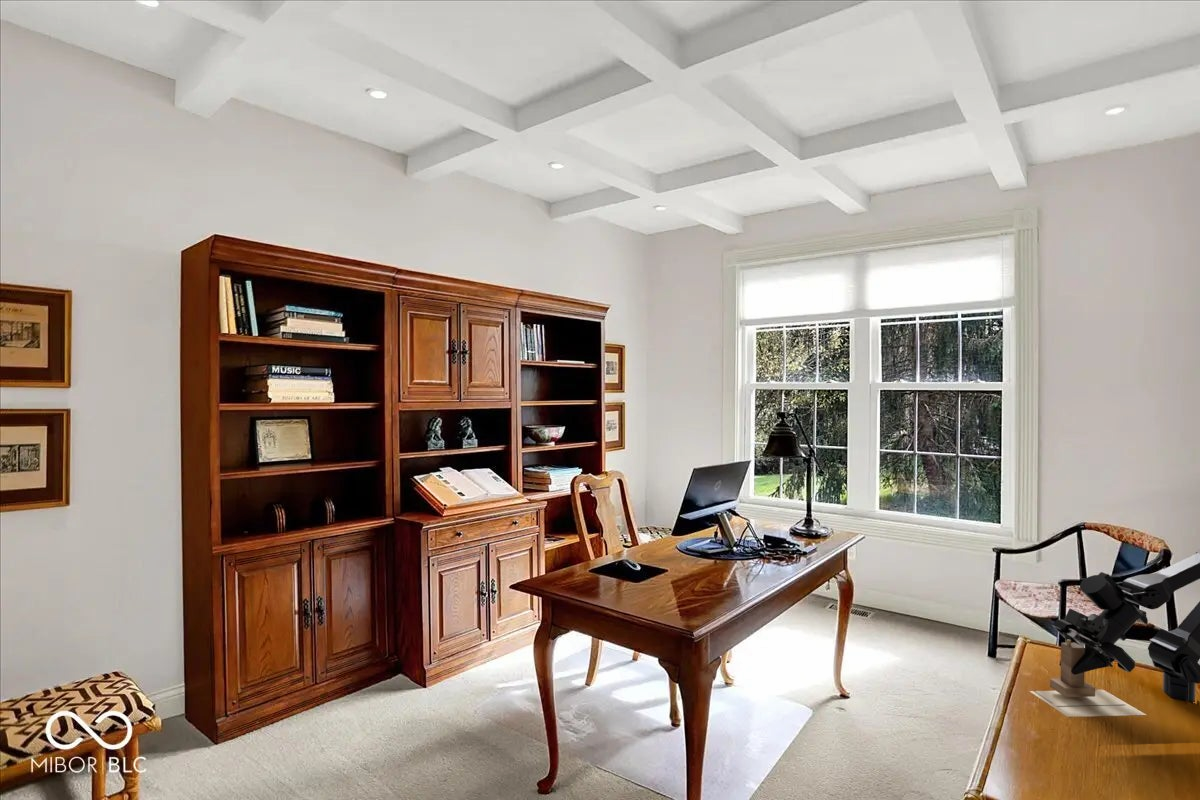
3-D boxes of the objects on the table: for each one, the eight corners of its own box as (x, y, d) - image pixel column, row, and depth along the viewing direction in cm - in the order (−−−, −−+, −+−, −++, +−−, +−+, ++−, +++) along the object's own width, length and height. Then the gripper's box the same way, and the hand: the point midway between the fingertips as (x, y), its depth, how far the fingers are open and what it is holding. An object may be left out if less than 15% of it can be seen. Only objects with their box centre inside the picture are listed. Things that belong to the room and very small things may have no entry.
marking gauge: (1078, 686, 155) (1079, 635, 155) (1095, 696, 150) (1096, 644, 150) (1049, 686, 155) (1050, 636, 154) (1065, 697, 150) (1066, 644, 149)
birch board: (1102, 695, 156) (1102, 689, 156) (1146, 721, 144) (1146, 714, 144) (1029, 697, 155) (1029, 690, 155) (1067, 723, 143) (1067, 716, 143)
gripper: (1060, 586, 161) (1016, 631, 161) (1123, 612, 143) (1073, 663, 143) (1090, 617, 162) (1046, 662, 162) (1157, 647, 143) (1108, 698, 143)
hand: (1066, 669), depth 152 cm, fingers closed on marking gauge, 3 cm apart
